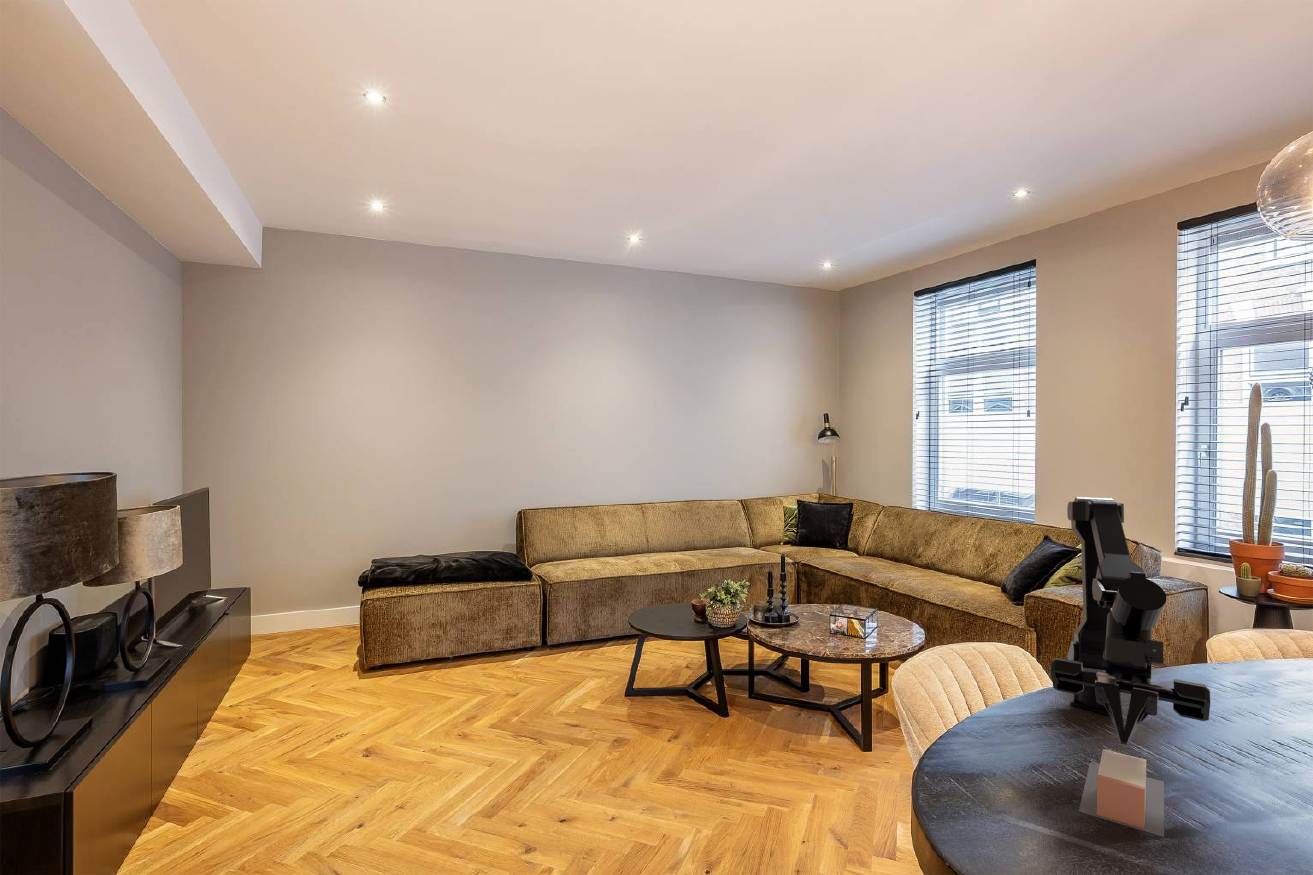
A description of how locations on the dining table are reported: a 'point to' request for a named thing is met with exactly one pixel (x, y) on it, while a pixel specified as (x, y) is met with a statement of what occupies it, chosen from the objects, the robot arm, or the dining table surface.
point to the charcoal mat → (1152, 806)
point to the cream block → (1122, 788)
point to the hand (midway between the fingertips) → (1123, 742)
